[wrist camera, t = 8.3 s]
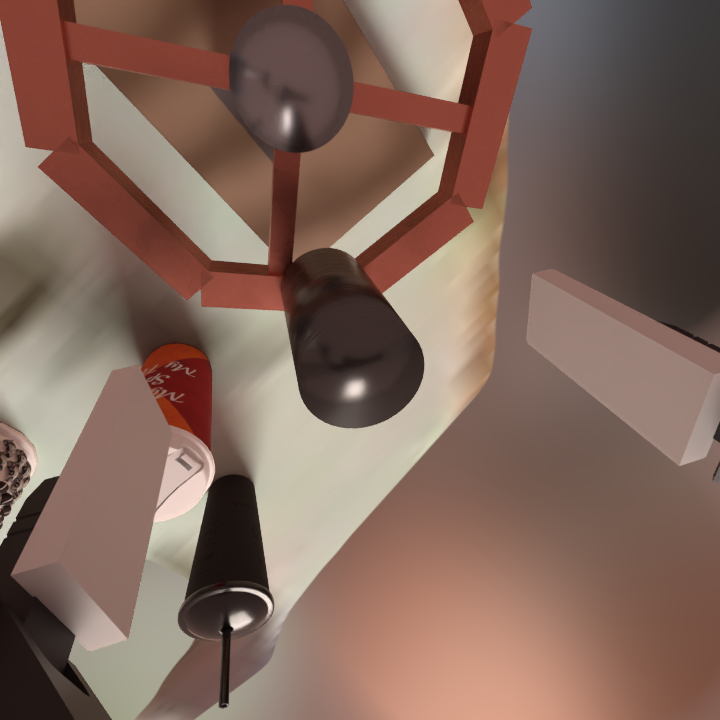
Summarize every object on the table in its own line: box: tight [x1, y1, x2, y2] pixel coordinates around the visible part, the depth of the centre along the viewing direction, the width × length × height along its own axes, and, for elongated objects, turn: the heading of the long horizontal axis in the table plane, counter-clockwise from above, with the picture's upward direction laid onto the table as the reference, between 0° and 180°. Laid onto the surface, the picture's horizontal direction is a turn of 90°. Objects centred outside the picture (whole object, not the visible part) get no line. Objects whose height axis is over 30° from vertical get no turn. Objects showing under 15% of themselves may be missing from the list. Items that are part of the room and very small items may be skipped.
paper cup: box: [141, 343, 215, 522], centre depth 32 cm, size 8×8×14 cm
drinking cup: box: [178, 475, 274, 709], centre depth 38 cm, size 8×8×20 cm
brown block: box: [74, 0, 434, 263], centre depth 25 cm, size 20×14×10 cm
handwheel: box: [0, 0, 532, 428], centre depth 15 cm, size 18×18×15 cm
